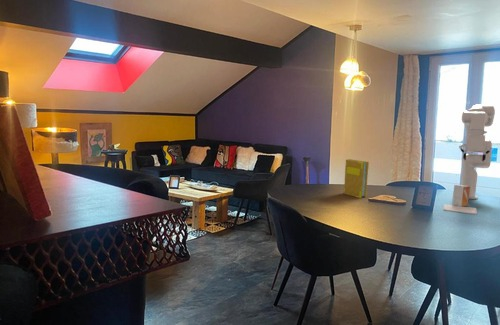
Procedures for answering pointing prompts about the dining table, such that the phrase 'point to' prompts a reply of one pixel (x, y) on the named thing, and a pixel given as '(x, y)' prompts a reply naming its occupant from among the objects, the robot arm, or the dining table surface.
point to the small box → (461, 195)
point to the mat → (460, 209)
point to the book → (356, 178)
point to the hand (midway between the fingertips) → (473, 160)
